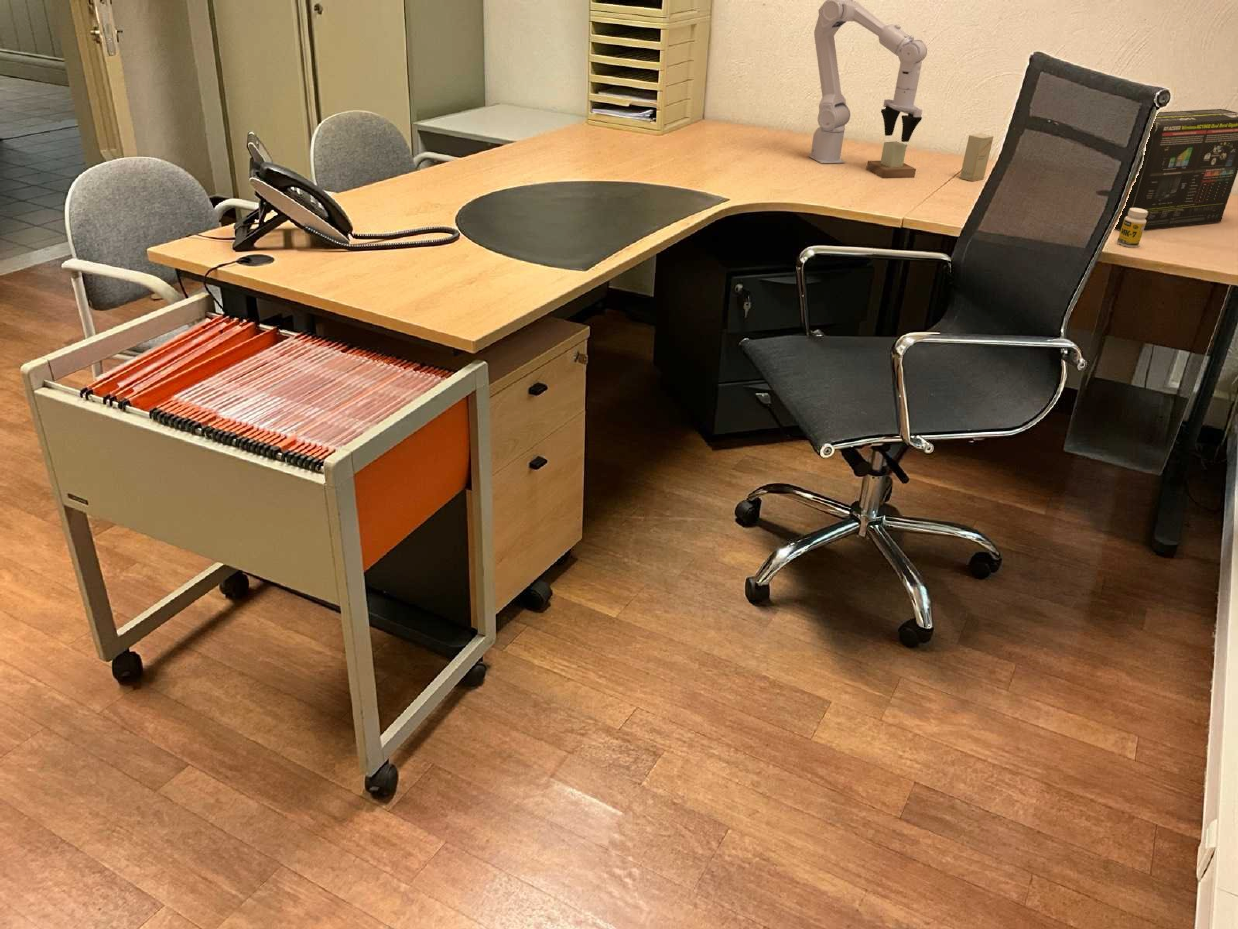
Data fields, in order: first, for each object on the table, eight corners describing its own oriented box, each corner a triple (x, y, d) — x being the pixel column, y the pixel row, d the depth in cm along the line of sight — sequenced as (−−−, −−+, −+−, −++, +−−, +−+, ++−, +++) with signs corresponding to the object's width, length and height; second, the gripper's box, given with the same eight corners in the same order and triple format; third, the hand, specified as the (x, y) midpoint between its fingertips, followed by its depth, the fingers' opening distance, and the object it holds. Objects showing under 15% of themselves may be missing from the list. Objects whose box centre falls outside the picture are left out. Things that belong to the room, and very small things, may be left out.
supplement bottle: (1113, 243, 236) (1124, 209, 232) (1121, 240, 239) (1132, 205, 235) (1133, 249, 233) (1145, 214, 229) (1141, 245, 236) (1152, 210, 232)
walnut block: (865, 171, 288) (867, 160, 286) (896, 170, 290) (898, 160, 289) (883, 180, 279) (885, 169, 278) (913, 179, 282) (916, 168, 281)
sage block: (880, 163, 284) (884, 142, 281) (892, 162, 286) (896, 141, 283) (890, 167, 281) (894, 145, 278) (902, 166, 282) (906, 144, 279)
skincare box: (971, 181, 281) (982, 138, 275) (958, 178, 284) (968, 134, 278) (984, 179, 284) (994, 135, 278) (971, 175, 287) (980, 132, 281)
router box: (1186, 210, 266) (1222, 107, 252) (1222, 223, 257) (1261, 116, 243) (1088, 220, 253) (1120, 111, 239) (1122, 233, 244) (1158, 121, 230)
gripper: (878, 83, 277) (869, 133, 284) (911, 93, 266) (901, 144, 273) (898, 82, 279) (889, 132, 286) (931, 92, 268) (921, 143, 275)
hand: (896, 138), depth 280 cm, fingers open, 7 cm apart
